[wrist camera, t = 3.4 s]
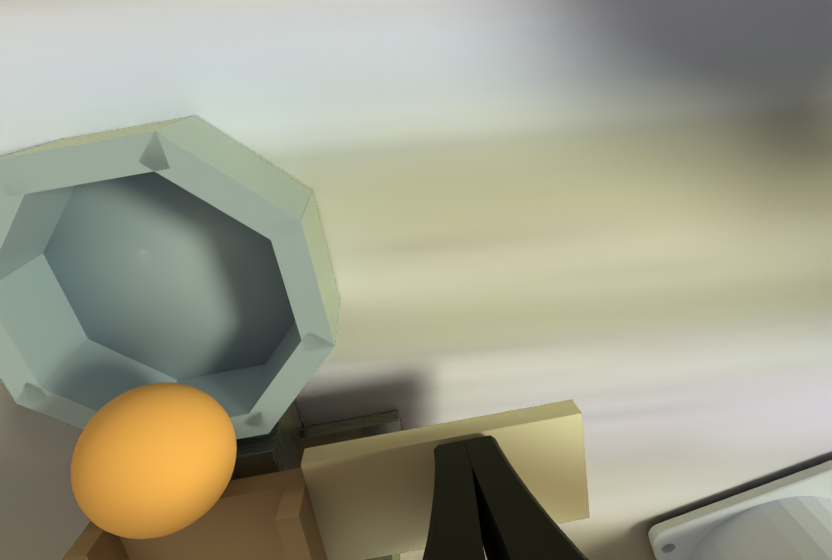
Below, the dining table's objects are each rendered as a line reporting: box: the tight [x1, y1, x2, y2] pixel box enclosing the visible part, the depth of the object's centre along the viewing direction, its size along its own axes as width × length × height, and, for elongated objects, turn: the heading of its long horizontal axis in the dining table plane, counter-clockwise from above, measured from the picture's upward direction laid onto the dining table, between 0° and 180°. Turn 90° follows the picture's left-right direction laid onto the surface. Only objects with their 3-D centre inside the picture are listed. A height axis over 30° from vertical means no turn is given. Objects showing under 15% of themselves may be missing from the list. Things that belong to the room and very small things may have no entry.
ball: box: [71, 383, 237, 539], centre depth 10 cm, size 3×3×3 cm
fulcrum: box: [230, 401, 403, 560], centre depth 14 cm, size 7×9×5 cm
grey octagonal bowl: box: [0, 115, 340, 439], centre depth 12 cm, size 7×7×2 cm
